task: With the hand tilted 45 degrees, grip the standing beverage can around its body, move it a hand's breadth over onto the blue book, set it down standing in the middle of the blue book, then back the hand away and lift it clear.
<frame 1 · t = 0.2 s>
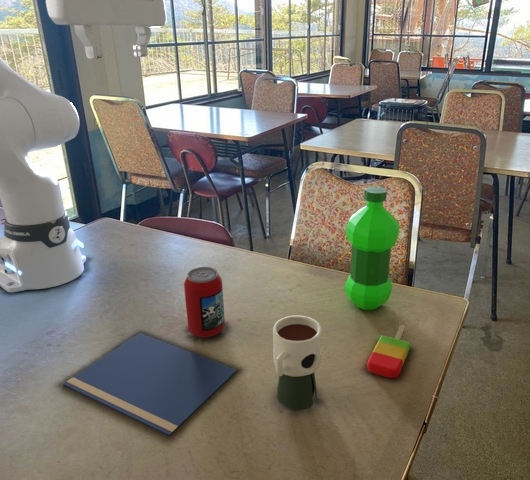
hand: (119, 57, 78), 48 cm above the table, tool pointing down, fingers open, 8 cm apart
character mug: (296, 399, 75), on the table
beverage can: (207, 330, 91), on the table
popsicle: (392, 352, 86), on the table
blue book: (152, 377, 78), on the table
plastic bottle: (367, 304, 101), on the table
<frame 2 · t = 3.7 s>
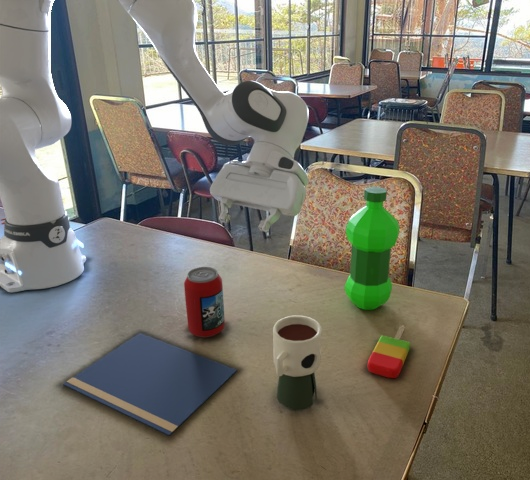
hand: (242, 226, 94), 17 cm above the table, tool tilted 45°, fingers open, 8 cm apart
nothing on the table moved.
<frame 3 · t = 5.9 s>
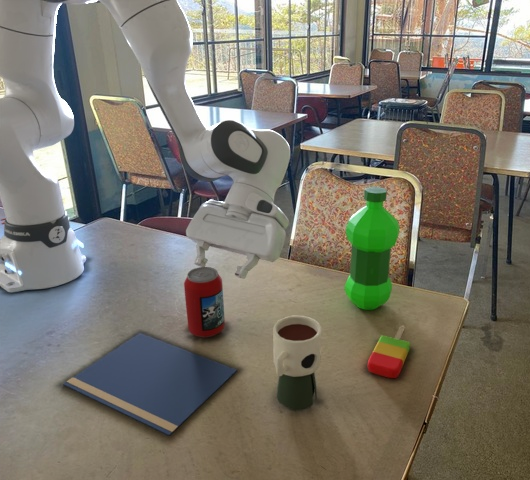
hand: (218, 271, 90), 10 cm above the table, tool tilted 45°, fingers open, 8 cm apart
nothing on the table moved.
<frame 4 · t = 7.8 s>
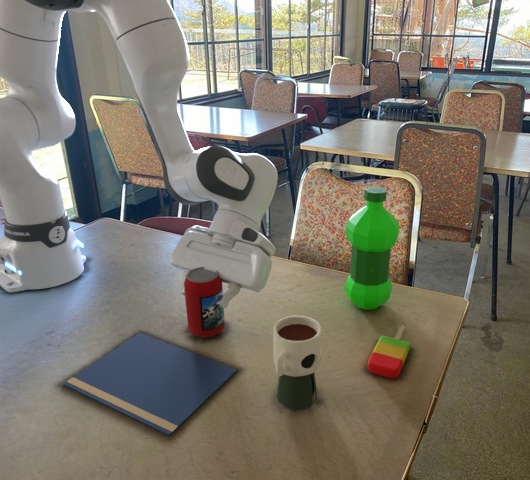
hand: (202, 301, 88), 7 cm above the table, tool tilted 45°, fingers closed on beverage can, 7 cm apart
beverage can: (207, 330, 91), on the table, touching gripper
everything else where it was.
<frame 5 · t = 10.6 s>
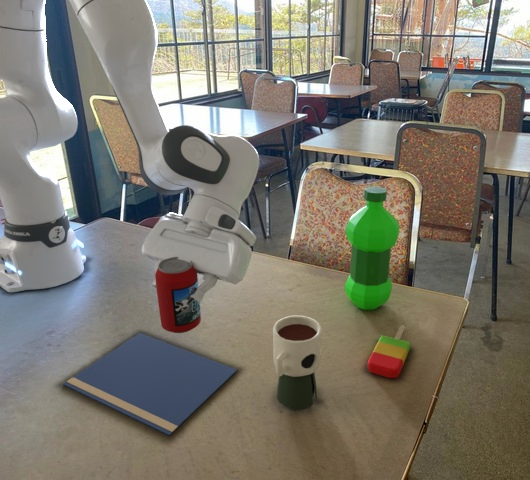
hand: (175, 293, 81), 11 cm above the table, tool tilted 45°, fingers closed on beverage can, 7 cm apart
beverage can: (181, 326, 84), point 4 cm above the table, touching gripper
everything else where it was.
when the fingers open (7 cm above the table, at t = 13.9 s): beverage can stays where it is, resting on blue book.
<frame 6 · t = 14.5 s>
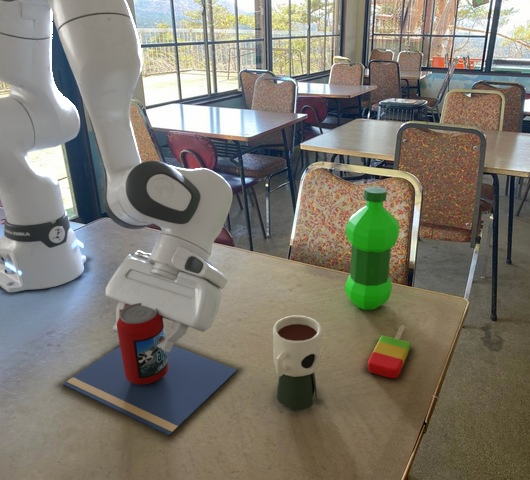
hand: (140, 341, 75), 7 cm above the table, tool tilted 45°, fingers open, 8 cm apart
beverage can: (147, 375, 78), resting on blue book
everything else where it was.
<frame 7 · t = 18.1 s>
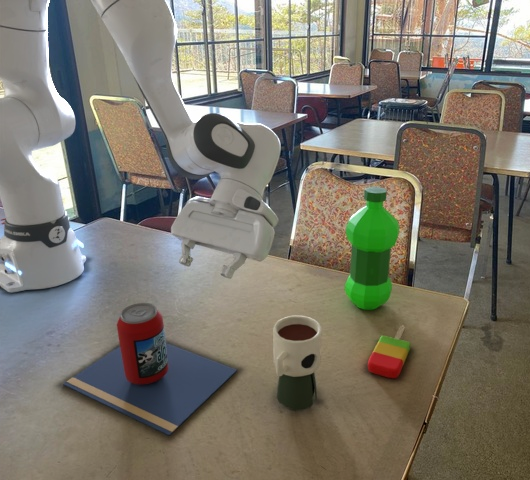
hand: (204, 270, 86), 12 cm above the table, tool tilted 45°, fingers open, 8 cm apart
nothing on the table moved.
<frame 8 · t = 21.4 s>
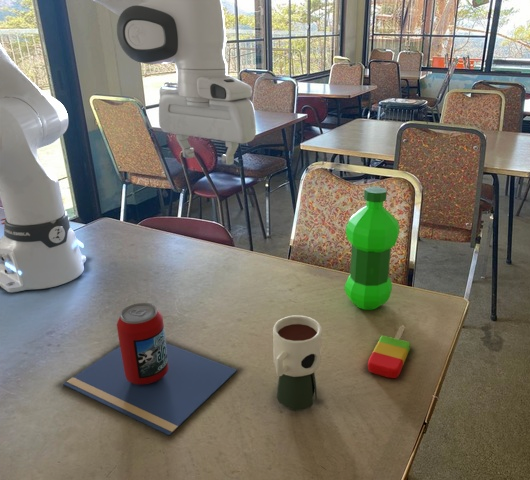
hand: (208, 160, 92), 29 cm above the table, tool pointing down, fingers open, 8 cm apart
nothing on the table moved.
at the end: beverage can inside the target area (1.0 cm from its centre), resting on blue book; beverage can tilted 0°; the gripper is holding nothing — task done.
